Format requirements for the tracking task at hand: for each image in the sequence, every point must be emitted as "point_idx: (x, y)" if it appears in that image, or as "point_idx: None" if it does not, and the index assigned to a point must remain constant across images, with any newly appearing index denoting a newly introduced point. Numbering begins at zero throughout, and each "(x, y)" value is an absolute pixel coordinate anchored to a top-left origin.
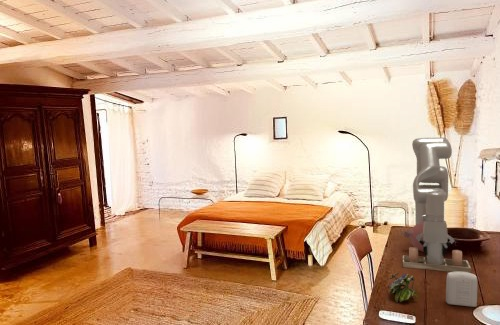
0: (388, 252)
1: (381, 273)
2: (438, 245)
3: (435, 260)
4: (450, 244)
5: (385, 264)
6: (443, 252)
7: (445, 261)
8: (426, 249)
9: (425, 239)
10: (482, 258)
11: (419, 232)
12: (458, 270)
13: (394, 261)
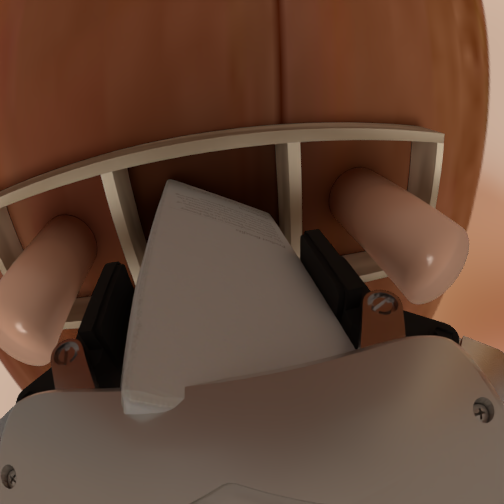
0: (429, 317)
1: (484, 28)
2: (142, 326)
3: (203, 206)
4: (24, 393)
5: (478, 153)
6: (115, 295)
7: (129, 265)
8: (332, 271)
9: (462, 368)
10: None
11: None
12: (39, 177)
13: (442, 213)
